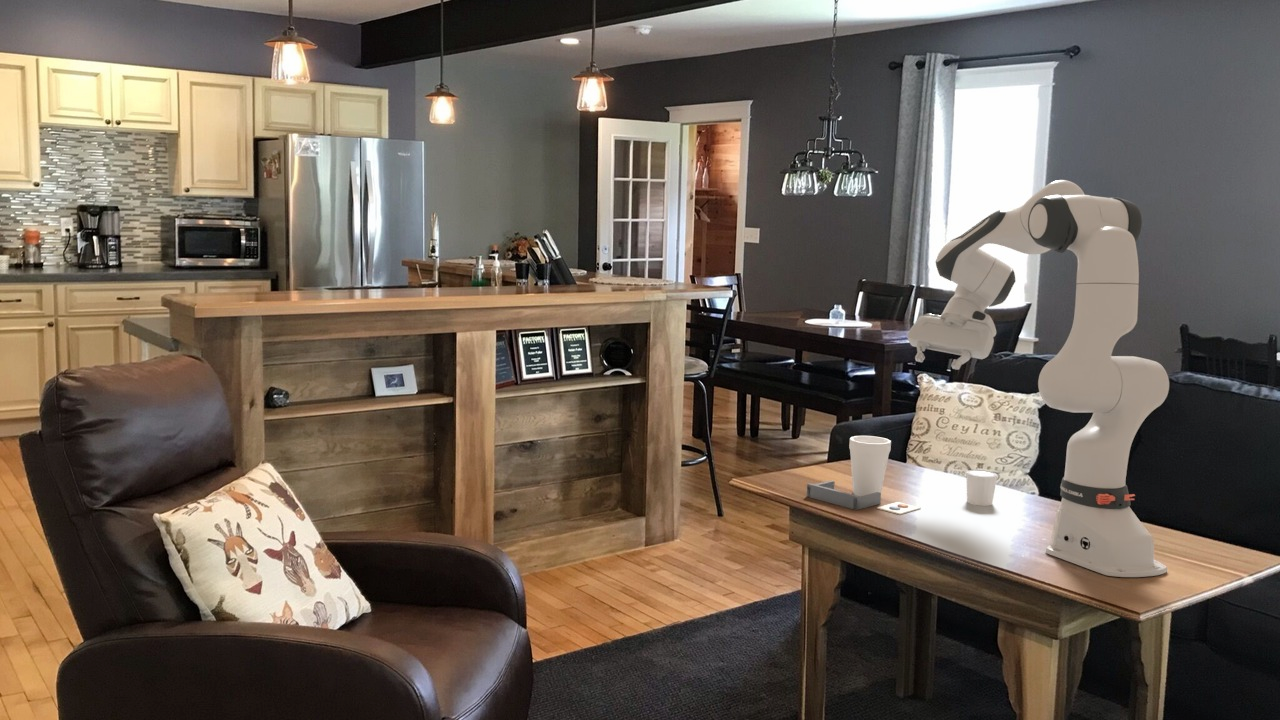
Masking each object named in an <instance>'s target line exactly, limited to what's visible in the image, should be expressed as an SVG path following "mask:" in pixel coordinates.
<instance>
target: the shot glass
mask: <svg viewBox="0 0 1280 720" xmlns="http://www.w3.org/2000/svg"><path fill="white" fill-rule="evenodd" d="M997 480H998V474H997V473H995V472H992V471H990V470H989V471H988V470H984V469H983V470H980V469H971V470H967V471H966V502H967V503H968V504H970V505H973V506H979V507H982V506H983V507H984V506H985V507H987V506H992V505H993V502H994V494H995V491H996V483H997Z"/></svg>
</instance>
